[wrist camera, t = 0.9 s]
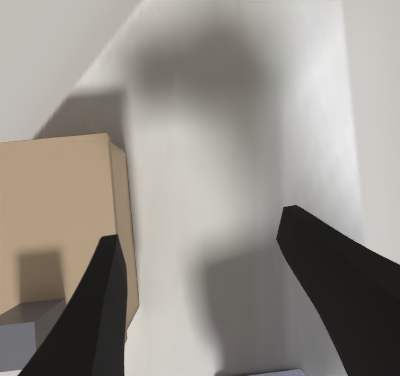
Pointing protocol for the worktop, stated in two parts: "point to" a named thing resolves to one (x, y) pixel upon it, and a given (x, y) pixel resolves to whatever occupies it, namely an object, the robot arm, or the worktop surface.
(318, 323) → the worktop surface
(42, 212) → the carton lid
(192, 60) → the worktop surface
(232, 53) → the worktop surface
